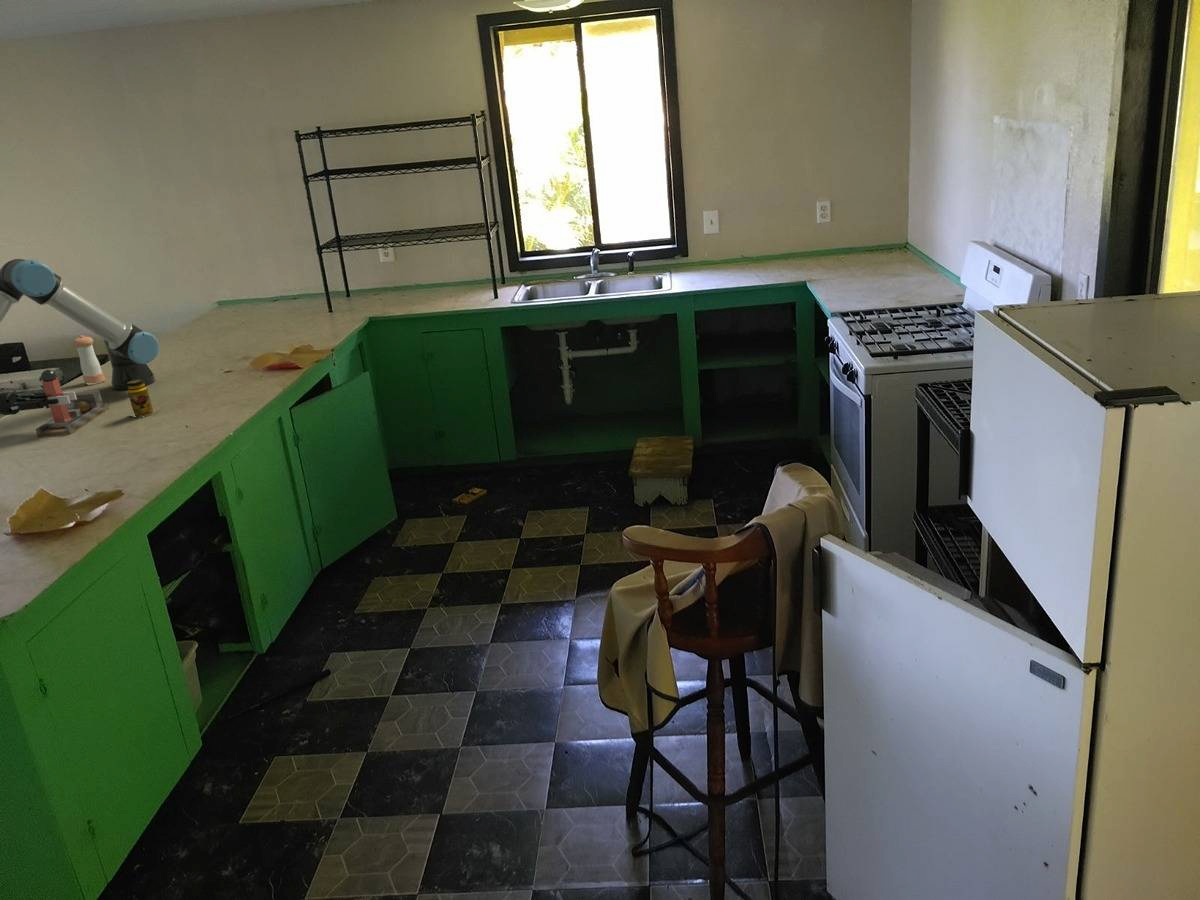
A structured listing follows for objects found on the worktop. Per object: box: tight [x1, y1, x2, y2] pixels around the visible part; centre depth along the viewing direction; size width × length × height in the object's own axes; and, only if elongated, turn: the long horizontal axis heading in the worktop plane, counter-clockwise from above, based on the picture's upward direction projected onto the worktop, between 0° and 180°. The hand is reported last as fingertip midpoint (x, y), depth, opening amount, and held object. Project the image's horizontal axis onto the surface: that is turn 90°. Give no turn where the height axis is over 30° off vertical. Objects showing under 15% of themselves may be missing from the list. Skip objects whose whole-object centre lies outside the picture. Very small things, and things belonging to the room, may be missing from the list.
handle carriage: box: [40, 369, 82, 429], centre depth 312 cm, size 9×8×19 cm
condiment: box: [127, 379, 160, 417], centre depth 321 cm, size 7×8×12 cm
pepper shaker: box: [72, 334, 106, 384], centre depth 367 cm, size 7×7×19 cm
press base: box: [35, 389, 110, 438], centre depth 319 cm, size 26×11×7 cm, turn 0°
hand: (71, 397), depth 311 cm, fingers closed on handle carriage, 3 cm apart
